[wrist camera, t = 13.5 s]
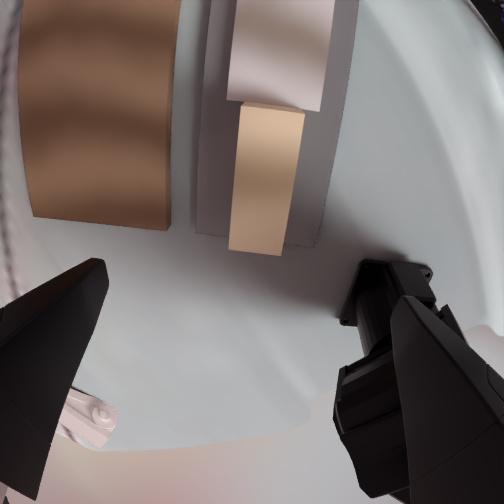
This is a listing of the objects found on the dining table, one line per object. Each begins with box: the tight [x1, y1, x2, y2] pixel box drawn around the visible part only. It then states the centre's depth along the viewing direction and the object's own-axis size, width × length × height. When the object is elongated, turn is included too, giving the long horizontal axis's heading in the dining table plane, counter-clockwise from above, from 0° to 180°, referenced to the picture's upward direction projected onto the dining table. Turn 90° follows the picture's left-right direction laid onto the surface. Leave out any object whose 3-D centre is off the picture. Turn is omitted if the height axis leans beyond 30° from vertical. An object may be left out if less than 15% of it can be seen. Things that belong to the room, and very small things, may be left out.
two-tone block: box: [227, 0, 335, 256], centre depth 15 cm, size 15×5×3 cm, turn 174°
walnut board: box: [18, 0, 181, 231], centre depth 14 cm, size 27×12×1 cm, turn 174°
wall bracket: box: [58, 388, 118, 448], centre depth 37 cm, size 10×7×28 cm
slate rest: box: [196, 0, 359, 248], centre depth 17 cm, size 17×8×1 cm, turn 174°
